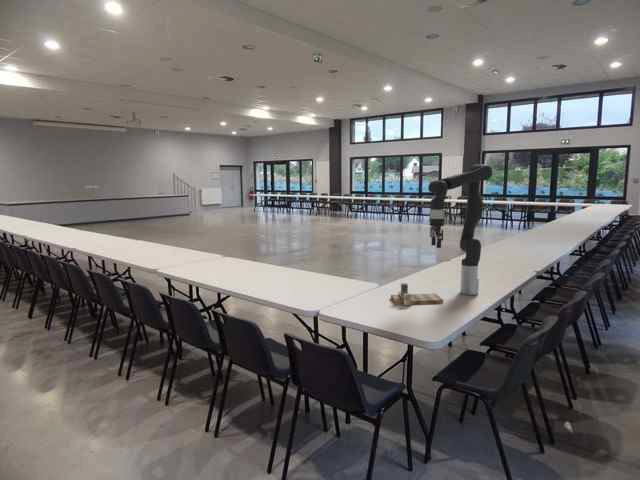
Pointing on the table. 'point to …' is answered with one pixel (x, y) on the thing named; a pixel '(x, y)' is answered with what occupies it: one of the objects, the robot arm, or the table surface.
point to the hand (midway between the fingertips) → (436, 246)
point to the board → (418, 299)
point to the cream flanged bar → (405, 294)
